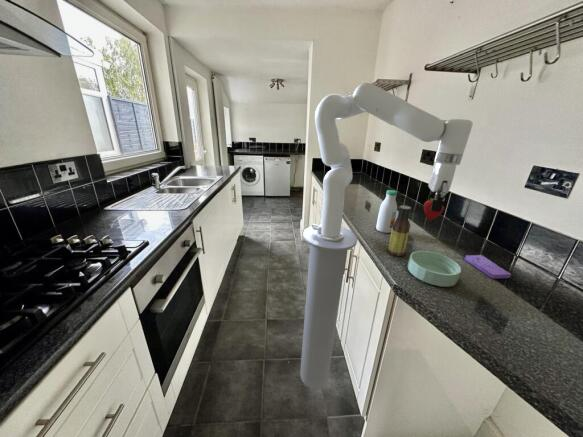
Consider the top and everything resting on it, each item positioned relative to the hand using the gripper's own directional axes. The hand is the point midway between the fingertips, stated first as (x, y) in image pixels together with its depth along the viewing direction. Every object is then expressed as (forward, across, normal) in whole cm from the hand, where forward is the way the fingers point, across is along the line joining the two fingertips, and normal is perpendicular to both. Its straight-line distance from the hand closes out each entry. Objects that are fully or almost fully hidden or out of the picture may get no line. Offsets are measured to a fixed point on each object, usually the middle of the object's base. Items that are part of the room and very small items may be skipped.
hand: (433, 207), depth 85 cm
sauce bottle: (+21, +2, -9) cm, 23 cm away
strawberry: (+6, 0, 0) cm, 6 cm away
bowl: (+20, +13, +2) cm, 24 cm away
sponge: (+20, 0, +22) cm, 30 cm away
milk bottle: (+21, -20, -13) cm, 32 cm away
